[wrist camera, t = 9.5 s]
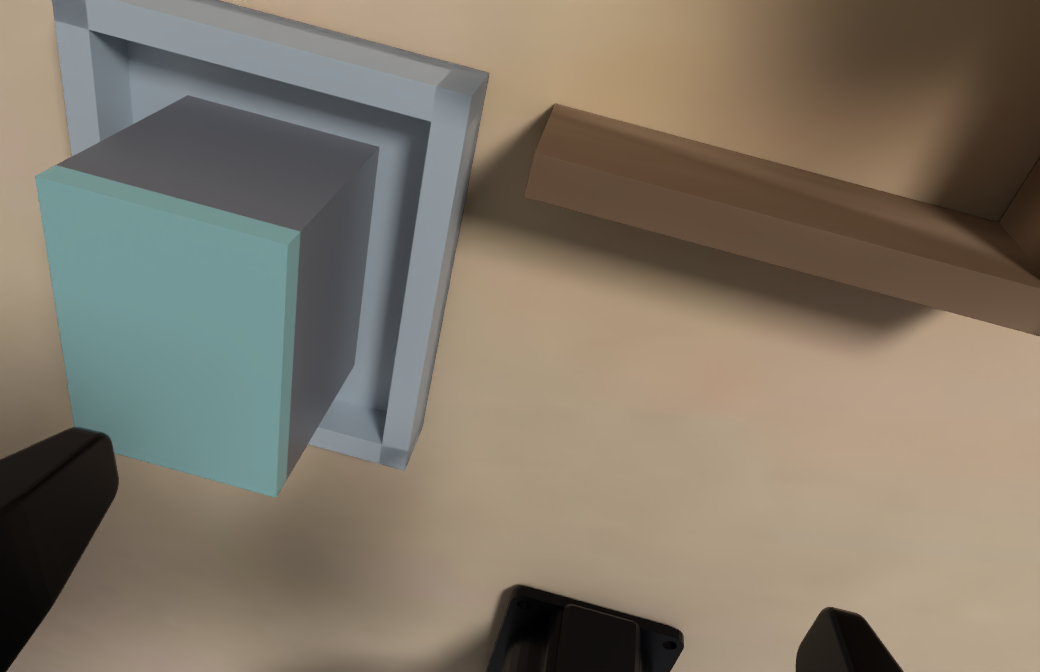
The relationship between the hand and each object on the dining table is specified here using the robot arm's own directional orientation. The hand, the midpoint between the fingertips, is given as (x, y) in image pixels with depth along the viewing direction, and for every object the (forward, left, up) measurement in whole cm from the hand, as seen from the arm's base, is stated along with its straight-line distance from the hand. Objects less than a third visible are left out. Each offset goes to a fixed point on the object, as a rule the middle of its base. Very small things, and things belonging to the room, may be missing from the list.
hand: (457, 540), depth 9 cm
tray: (-4, +7, -12) cm, 15 cm away
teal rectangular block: (-4, +7, -12) cm, 14 cm away
